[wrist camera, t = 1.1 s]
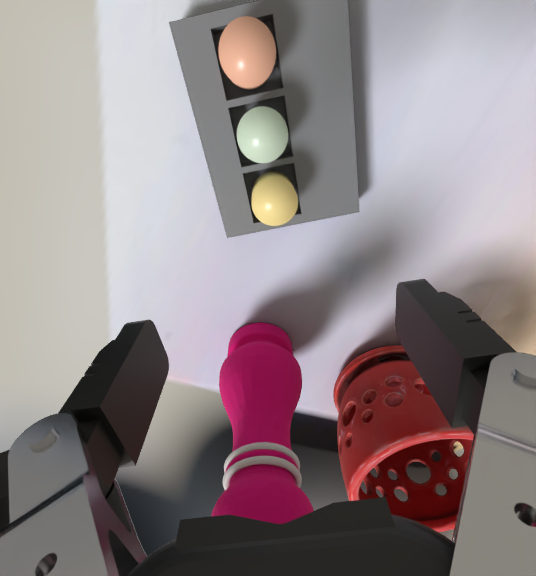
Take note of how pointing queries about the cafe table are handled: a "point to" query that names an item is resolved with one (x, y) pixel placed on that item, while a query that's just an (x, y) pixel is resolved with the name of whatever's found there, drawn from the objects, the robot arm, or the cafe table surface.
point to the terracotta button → (247, 52)
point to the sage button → (262, 134)
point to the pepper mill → (261, 427)
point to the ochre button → (274, 198)
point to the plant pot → (397, 437)
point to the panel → (278, 108)
